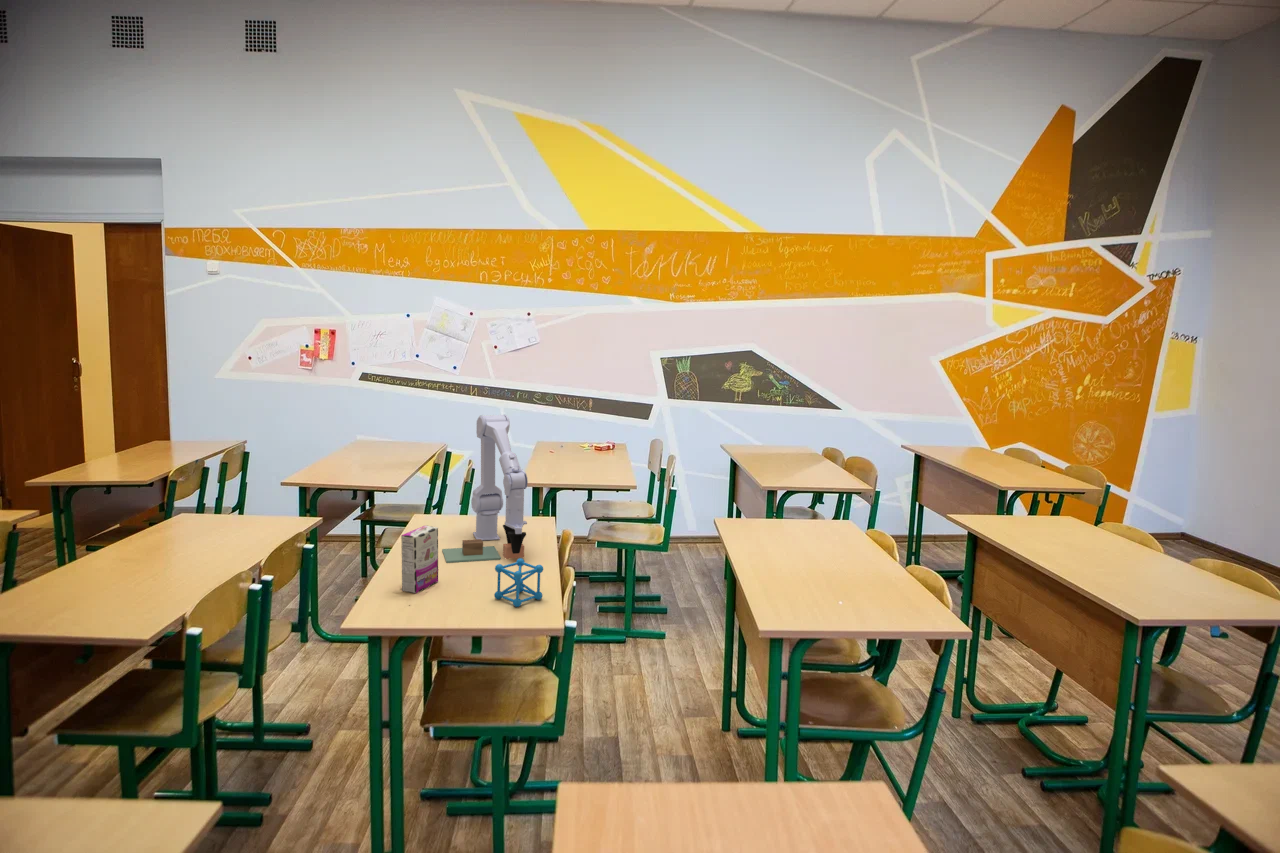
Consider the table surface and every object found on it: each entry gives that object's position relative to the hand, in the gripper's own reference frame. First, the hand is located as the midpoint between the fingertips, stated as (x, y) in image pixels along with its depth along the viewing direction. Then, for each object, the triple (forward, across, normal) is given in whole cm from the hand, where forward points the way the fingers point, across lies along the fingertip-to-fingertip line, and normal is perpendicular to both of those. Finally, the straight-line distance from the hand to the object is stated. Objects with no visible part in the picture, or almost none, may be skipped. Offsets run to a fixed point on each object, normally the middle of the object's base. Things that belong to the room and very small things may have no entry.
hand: (513, 549), depth 247 cm
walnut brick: (+2, +4, +13) cm, 13 cm away
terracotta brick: (+2, 0, 0) cm, 2 cm away
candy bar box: (+2, -22, +31) cm, 38 cm away
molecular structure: (+3, -38, +6) cm, 38 cm away
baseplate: (+2, +4, +13) cm, 14 cm away
